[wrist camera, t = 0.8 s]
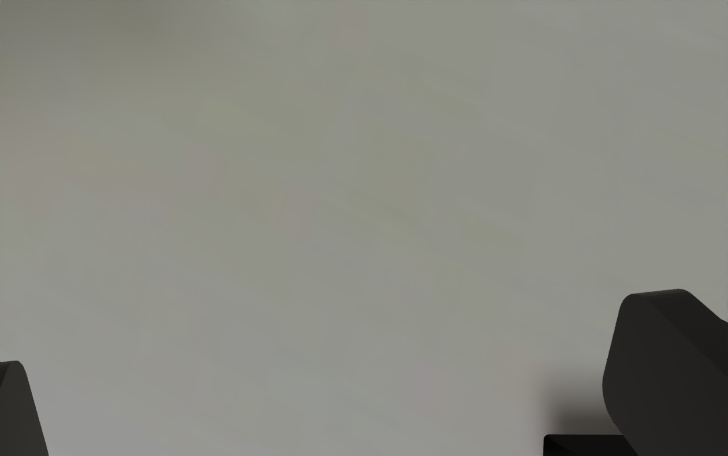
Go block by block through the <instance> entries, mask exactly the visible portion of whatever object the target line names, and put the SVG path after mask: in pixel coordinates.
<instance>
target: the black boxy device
mask: <svg viewBox="0 0 728 456" xmlns="http://www.w3.org/2000/svg"><path fill="white" fill-rule="evenodd" d="M543 456H638V454H637V453H636V452H635V450H634V449H633V448H632V446H631V445H630V444H629V442H628V441H627V440H626V438H625V437H624V436H623V435H558V434H548V435H546V436H545V437H544V445H543Z"/></svg>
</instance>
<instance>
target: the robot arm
mask: <svg viewBox="0 0 728 456" xmlns="http://www.w3.org/2000/svg"><path fill="white" fill-rule="evenodd" d="M602 388H603V397H604V401H605V405H606V408H607V411H608V413H609V415H610V417H611V419H612V420H613V422H614V423H615V425H616V426H617V427H618V429H619V430H620V432H621V433H622V434H623V436H624V437H625V438H626V440H627V441H628V442H629V444H630V445H631V446H632V448H633V449H634V450H635V452H636V453H637V454H638V456H728V322H726V321H724V320H722V319H720V318H719V317H718V316H717V315H715V314H714V313H713V312H712V311H711V310H710V309H709V308H707V307H706V306H705V305H704V304H703V303H702V302H700V301H699V300H698V299H697V298H696V297H695V296H694V295H692V294H691V293H690V292H688V291H686V290H683V289H672V290H663V291H654V292H645V293H636V294H631V295H628V296H627V297H626V298H625V299H624V300H623V302H622V304H621V306H620V309H619V313H618V317H617V322H616V326H615V330H614V334H613V338H612V342H611V346H610V350H609V355H608V359H607V363H606V367H605V371H604V375H603V383H602ZM0 456H49V455H48V450H47V447H46V443H45V439H44V436H43V432H42V429H41V425H40V421H39V418H38V414H37V411H36V407H35V403H34V400H33V396H32V392H31V389H30V385H29V382H28V378H27V375H26V372H25V369H24V367H23V365H22V364H21V363H20V362H19V361H7V362H0Z"/></svg>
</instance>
